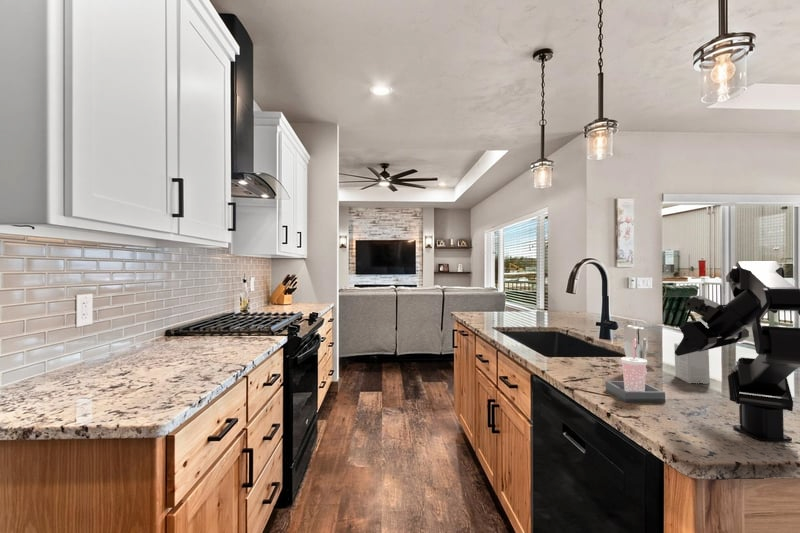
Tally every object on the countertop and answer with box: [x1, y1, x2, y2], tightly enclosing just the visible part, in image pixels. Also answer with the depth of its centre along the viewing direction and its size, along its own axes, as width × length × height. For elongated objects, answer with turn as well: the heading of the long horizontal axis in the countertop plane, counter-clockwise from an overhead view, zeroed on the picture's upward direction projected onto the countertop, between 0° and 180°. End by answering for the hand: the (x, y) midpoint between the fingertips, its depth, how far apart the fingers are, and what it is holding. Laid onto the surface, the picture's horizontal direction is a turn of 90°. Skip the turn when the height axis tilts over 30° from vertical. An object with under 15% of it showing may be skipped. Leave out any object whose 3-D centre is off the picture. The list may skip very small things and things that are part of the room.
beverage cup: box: [620, 341, 648, 392], centre depth 102 cm, size 6×6×14 cm
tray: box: [605, 380, 666, 403], centre depth 102 cm, size 10×10×2 cm
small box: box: [673, 342, 711, 385], centre depth 115 cm, size 8×6×10 cm
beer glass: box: [622, 325, 649, 376], centre depth 124 cm, size 7×7×15 cm
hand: (687, 352), depth 93 cm, fingers open, 9 cm apart
